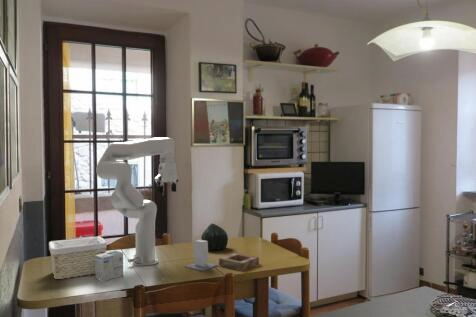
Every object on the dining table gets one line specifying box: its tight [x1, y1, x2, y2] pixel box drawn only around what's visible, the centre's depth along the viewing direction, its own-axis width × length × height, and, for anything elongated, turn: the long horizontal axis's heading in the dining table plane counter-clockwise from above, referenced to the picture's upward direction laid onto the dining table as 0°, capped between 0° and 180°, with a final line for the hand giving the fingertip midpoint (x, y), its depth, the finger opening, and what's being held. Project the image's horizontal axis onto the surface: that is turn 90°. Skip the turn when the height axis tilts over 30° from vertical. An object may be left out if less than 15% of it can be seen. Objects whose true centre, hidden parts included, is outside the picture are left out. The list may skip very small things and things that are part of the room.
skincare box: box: [192, 239, 209, 267], centre depth 204 cm, size 6×4×12 cm
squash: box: [200, 222, 229, 251], centre depth 238 cm, size 14×15×15 cm
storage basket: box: [48, 236, 108, 280], centre depth 194 cm, size 24×16×15 cm
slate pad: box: [185, 262, 219, 272], centre depth 204 cm, size 11×11×1 cm
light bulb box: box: [95, 250, 124, 282], centre depth 187 cm, size 11×7×11 cm, turn 141°
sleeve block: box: [218, 252, 260, 272], centre depth 206 cm, size 14×14×4 cm
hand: (167, 192), depth 228 cm, fingers open, 9 cm apart
